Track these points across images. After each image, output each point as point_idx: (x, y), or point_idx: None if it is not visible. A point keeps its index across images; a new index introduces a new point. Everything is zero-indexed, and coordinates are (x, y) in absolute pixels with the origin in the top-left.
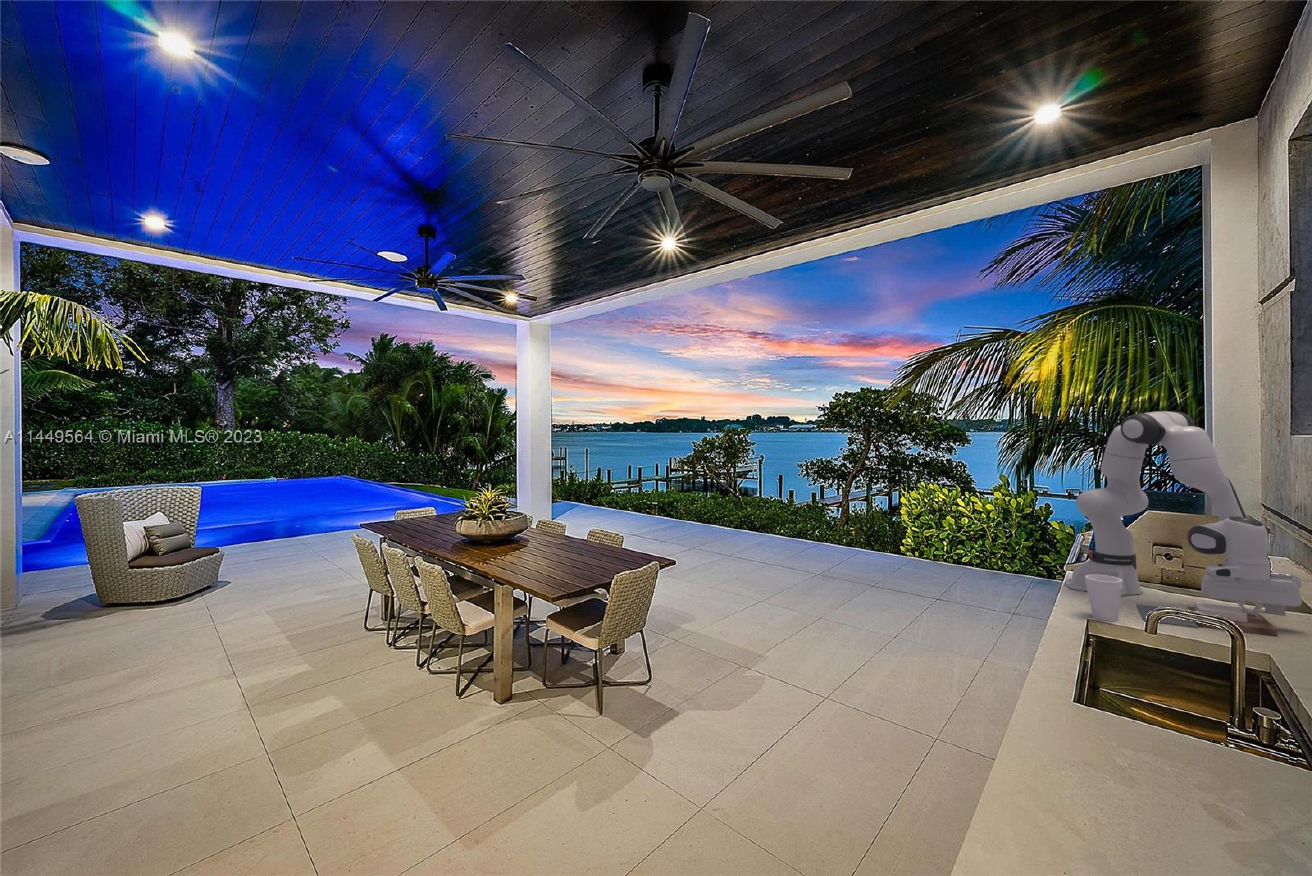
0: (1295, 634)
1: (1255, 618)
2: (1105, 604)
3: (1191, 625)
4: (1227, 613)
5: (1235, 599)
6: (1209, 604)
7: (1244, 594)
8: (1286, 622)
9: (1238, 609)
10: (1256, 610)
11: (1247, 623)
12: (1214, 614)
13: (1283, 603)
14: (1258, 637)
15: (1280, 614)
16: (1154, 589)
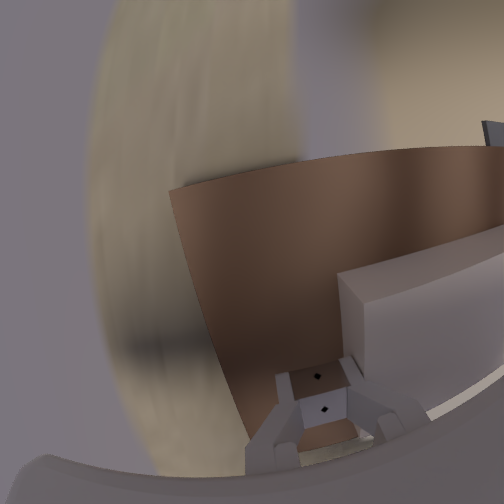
0: (120, 304)
1: None
2: None
3: (499, 131)
4: (456, 264)
5: (473, 406)
6: (476, 379)
7: (437, 499)
8: (182, 448)
9: None
10: (290, 409)
11: (339, 236)
12: (487, 243)
13: (96, 480)
14: (274, 90)
15: None
16: None
